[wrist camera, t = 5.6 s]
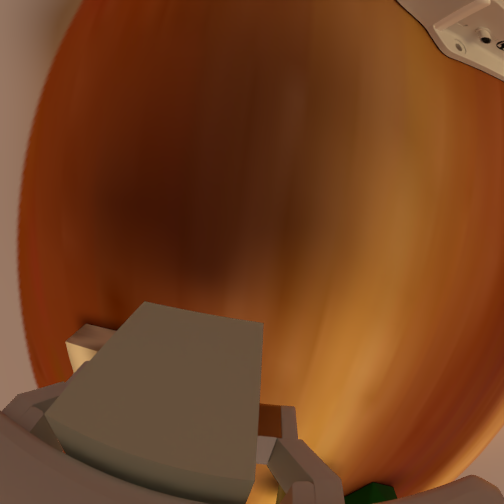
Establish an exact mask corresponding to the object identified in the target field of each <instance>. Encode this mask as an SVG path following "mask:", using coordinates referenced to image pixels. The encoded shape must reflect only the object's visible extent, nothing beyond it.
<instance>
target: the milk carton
mask: <svg viewBox="0 0 504 504" xmlns="http://www.w3.org/2000/svg"><path fill="white" fill-rule="evenodd" d="M394 499H397V496H396V494H395V491H394V488H393V487H390V486H386V485H382V484H378V483H374V482H372V483H371V484H369V485H367V486H365V487H363V488H361V489H360V490H358V491H356V492H354V493H352V494H350V495H348V496H346V497H344V500H345V504H375V503H380V502H385V501H390V500H394Z"/></svg>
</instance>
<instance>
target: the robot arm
mask: <svg viewBox="0 0 504 504" xmlns="http://www.w3.org/2000/svg"><path fill="white" fill-rule="evenodd" d="M397 1H398V2H399V3H400V4H401V5H402V6H403V7H404V8H405V9H406V10H407V11H408V12H409V13H411V14H412V15H413V16H414V17H415V18H416V19H417V20H418V21H419V22H420V23H421V24H422V25H423V26H424V27H425V28H426V29H427V31H428V32H429V34H430V36H431V37H432V39H433V40H434V42H435V43H436V45H437V46H438V47H439V49H440V50H441V51H442V52H443V53H444V54H445V55H447V56H448V57H450V58H453V59H456V60H458V61H461V62H463V63H466V64H468V65H470V66H473V67H475V68H477V69H480V70H482V71H484V72H486V73H488V74H490V75H492V76H494V77H496V78H498V79H500V80H502V81H504V0H397ZM88 362H89V361H85V362H84V363H83V364H82V365H81V366H80V367H79V368H78V369H77V371H76V372H75V373H74V374H73V375H72V376H71V377H70V378H69V379H68V381H67V382H66V383H65V382H60V383H56V384H53V385H50V386H46V387H43V388H39V389H36V390H32V391H29V392H25V393H22V394H18V395H17V396H16V397H15V398H14V399H13V400H12V401H11V402H10V403H9V404H8V405H7V406H6V408H4V409H3V411H0V504H208V503H203V502H198V501H193V500H188V499H184V498H180V497H176V496H172V495H168V494H164V493H161V492H157V491H154V490H151V489H147V488H144V487H141V486H138V485H135V484H132V483H130V482H127V481H124V480H122V479H119V478H116V477H114V476H111V475H109V474H107V473H104V472H102V471H100V470H97V469H95V468H93V467H91V466H89V465H87V464H84V463H82V462H80V461H78V460H76V459H74V458H72V457H71V456H69V455H67V454H65V453H63V452H62V451H63V449H62V447H61V445H60V443H59V442H58V440H57V438H56V436H55V434H54V432H53V430H52V428H51V426H50V424H49V423H48V421H47V419H46V417H45V412H46V411H47V410H48V409H49V408H50V406H51V405H52V404H53V403H54V402H55V400H56V399H57V398H58V397H59V396H60V394H61V393H62V392H63V391H64V390H65V389H66V387H67V386H68V385H69V384H70V383H71V382H72V380H73V379H74V378H75V377H76V376H77V375H78V374H79V372H80V371H81V370H82V369H83V368H84V367H85V366H86V364H87V363H88ZM256 463H258V464H267V466H268V468H269V469H270V471H271V472H272V474H273V476H274V477H275V479H276V480H277V482H278V483H279V484H280V486H281V487H282V489H283V490H284V492H285V493H286V495H285V496H284V498H283V499H282V501H281V502H280V504H345V500H344V494H343V488H342V482H341V479H340V478H339V477H338V476H337V475H336V474H335V473H334V472H333V471H332V470H331V469H330V468H329V467H328V466H327V465H326V464H325V463H324V462H323V461H322V460H321V459H320V458H319V457H318V456H317V455H316V454H315V453H314V452H313V451H312V450H311V449H310V448H309V447H308V445H307V444H306V443H305V442H304V441H303V440H300V439H298V434H297V422H296V411H295V407H294V406H280V405H270V404H261V403H259V420H258V437H257V453H256ZM375 504H504V497H503V495H502V494H501V491H500V490H499V489H498V488H497V487H496V486H495V485H493V484H491V483H489V482H488V481H486V480H484V479H482V478H480V477H478V476H476V475H469V476H466V477H463V478H461V479H458V480H456V481H453V482H451V483H448V484H445V485H442V486H440V487H437V488H434V489H431V490H427V491H424V492H421V493H417V494H414V495H410V496H406V497H402V498H398V499H394V500H390V501H385V502H380V503H375Z"/></svg>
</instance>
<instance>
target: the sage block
mask: <svg viewBox="0 0 504 504" xmlns="http://www.w3.org/2000/svg"><path fill="white" fill-rule="evenodd" d="M262 344H263V323H259V322H252V321H246V320H239V319H233V318H227V317H221V316H216V315H210V314H204V313H199V312H194V311H188V310H183V309H178V308H173V307H168V306H164V305H159V304H154V303H150V302H144V303H143V304H142V305H141V306H140V307H139V308H138V309H137V310H136V311H135V312H134V313H133V314H132V315H131V316H130V317H129V318H128V319H127V320H126V322H125V323H124V324H123V325H122V326H121V327H120V328H119V329H118V330H117V331H116V332H115V333H114V334H113V336H112V337H111V338H110V339H109V340H108V341H107V342H106V343H105V344H104V345H103V347H102V348H101V349H100V350H99V351H98V352H97V353H96V354H95V355H94V357H93V358H92V359H91V360H90V361H89V362H88V363H87V364H86V366H85V367H84V368H83V369H82V370H81V371H80V372H79V374H78V375H77V376H76V377H75V378H74V379H73V380H72V382H71V383H70V384H69V385H68V386H67V387H66V389H65V390H64V391H63V392H62V393H61V394H60V396H59V397H58V398H57V399H56V400H55V402H54V403H53V404H52V405H51V406H50V408H49V409H48V410H47V411H46V412H45V417H46V419H47V421H48V423H49V424H50V426H51V428H52V430H53V432H54V434H55V436H56V438H57V439H58V441H59V443H60V445H61V446H62V448H63V450H64V451H65V453H66V454H67V455H69V456H71V457H72V458H74V459H76V460H78V461H80V462H82V463H84V464H87V465H89V466H91V467H93V468H95V469H97V470H100V471H102V472H104V473H107V474H109V475H111V476H114V477H116V478H119V479H122V480H124V481H127V482H130V483H132V484H135V485H138V486H141V487H144V488H147V489H151V490H154V491H157V492H161V493H164V494H168V495H172V496H176V497H180V498H184V499H188V500H193V501H198V502H203V503H208V504H245V503H246V501H247V499H248V496H249V494H250V491H251V489H252V486H253V484H254V481H255V468H256V453H257V437H258V420H259V403H260V384H261V365H262Z"/></svg>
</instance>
